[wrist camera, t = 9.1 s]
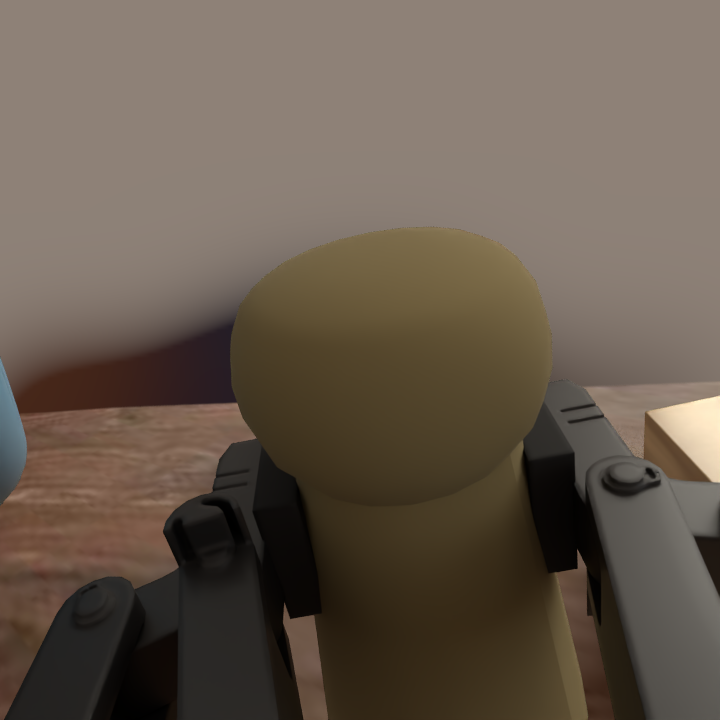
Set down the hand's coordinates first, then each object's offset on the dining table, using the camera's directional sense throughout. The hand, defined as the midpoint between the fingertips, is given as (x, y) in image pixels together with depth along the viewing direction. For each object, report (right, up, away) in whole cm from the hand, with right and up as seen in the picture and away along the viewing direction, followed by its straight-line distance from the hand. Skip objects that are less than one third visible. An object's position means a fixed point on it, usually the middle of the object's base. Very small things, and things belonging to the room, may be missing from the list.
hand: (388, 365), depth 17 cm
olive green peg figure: (+1, -8, -2) cm, 8 cm away
